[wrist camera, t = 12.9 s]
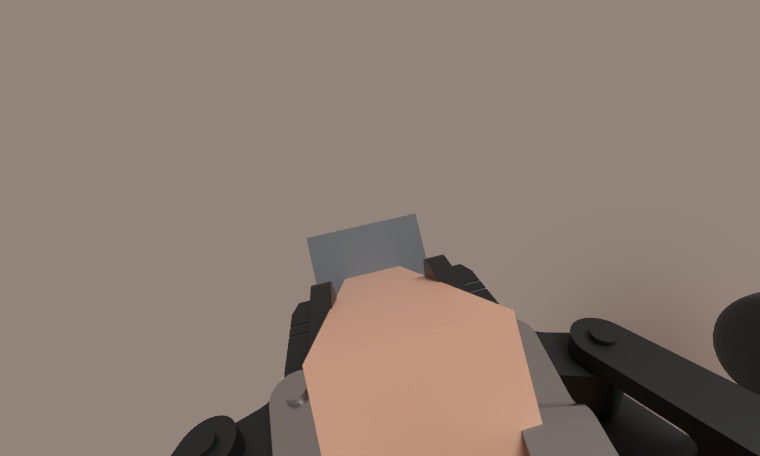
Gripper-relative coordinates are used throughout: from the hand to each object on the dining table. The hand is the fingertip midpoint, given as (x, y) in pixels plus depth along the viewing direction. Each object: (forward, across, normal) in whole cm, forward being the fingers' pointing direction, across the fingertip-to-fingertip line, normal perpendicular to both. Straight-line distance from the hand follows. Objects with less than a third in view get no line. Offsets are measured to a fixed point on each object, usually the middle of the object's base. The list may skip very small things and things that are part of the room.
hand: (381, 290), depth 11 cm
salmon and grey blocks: (+2, 0, +4) cm, 5 cm away
